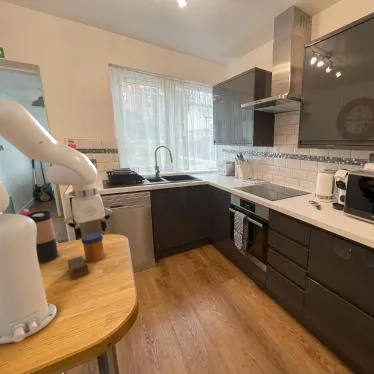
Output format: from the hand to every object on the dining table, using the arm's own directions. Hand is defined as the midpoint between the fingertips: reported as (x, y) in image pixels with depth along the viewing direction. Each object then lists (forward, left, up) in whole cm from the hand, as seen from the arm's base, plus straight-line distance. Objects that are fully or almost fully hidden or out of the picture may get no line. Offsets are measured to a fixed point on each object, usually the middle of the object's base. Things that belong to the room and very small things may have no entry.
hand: (92, 233), depth 90 cm
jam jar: (0, 0, -11) cm, 11 cm away
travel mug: (+14, +14, -12) cm, 23 cm away
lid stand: (-7, +7, -11) cm, 15 cm away
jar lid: (0, 0, -2) cm, 2 cm away
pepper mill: (+26, +17, -12) cm, 33 cm away
